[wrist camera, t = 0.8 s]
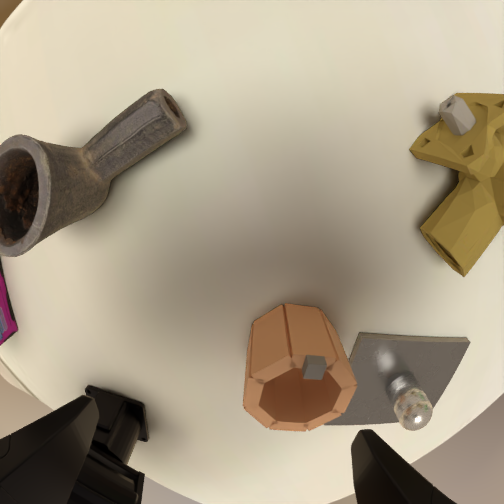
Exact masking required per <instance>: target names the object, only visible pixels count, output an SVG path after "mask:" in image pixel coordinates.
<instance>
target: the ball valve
mask: <svg viewBox="0 0 504 504" xmlns="http://www.w3.org/2000/svg"><path fill="white" fill-rule="evenodd" d="M438 113H439V114H440V115H441V119H440V121H439V122H438V123H436V124H435V125H434V126H432V127H431V128H429V129H428V130H427V131H425V132H424V133H422V134H421V135H420V136H419V137H418V138H417V140H416V141H415V142H414V144H413V145H412V146H411V148H410V149H409V150H410V151H411V152H412V153H413V154H414V156H415V157H416V158H418V159H422V160H425V161H429V162H432V163H436V164H439V165H442V166H445V167H449V168H452V169H455V170H458V171H460V172H459V174H458V178H459V183H458V185H457V187H456V188H455V189H454V190H453V191H452V192H451V193H450V194H449V195H448V196H447V197H446V198H445V200H444V201H443V202H442V203H441V204H440V206H439V207H438V208H437V209H436V210H435V211H434V213H433V214H432V215H431V216H430V217H429V218H428V219H427V221H426V222H425V223H424V224H423V225H422V226H421V227H420V230H421V232H422V234H423V236H424V238H425V239H426V240H427V241H428V242H429V244H430V245H431V246H432V247H433V248H434V250H435V251H436V252H437V253H438V254H439V255H440V256H441V257H442V258H443V259H444V260H445V261H446V263H447V264H448V265H449V266H450V267H451V268H452V269H453V270H455V271H456V272H458V273H459V274H460V275H462V276H463V277H465V275H466V274H467V273H468V272H469V270H470V269H471V268H472V267H473V265H474V264H475V263H476V261H477V260H478V259H479V258H480V256H481V255H482V253H483V252H484V251H485V249H486V248H487V247H488V245H489V244H490V242H491V241H492V240H493V238H494V237H495V236H496V234H497V233H498V231H499V230H500V228H501V226H503V225H504V94H488V93H456V94H455V95H453V96H452V97H450V98H449V99H447V100H445V101H444V102H442V103H441V104H440V107H439V112H438Z"/></svg>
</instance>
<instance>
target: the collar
mask: <svg viewBox="0 0 504 504" xmlns="http://www.w3.org/2000/svg"><path fill="white" fill-rule="evenodd" d="M356 388H357V381H356V379H355V376H354V374H353V371H352V369H351V366H350V364H349V361H348V359H347V356H346V354H345V351H344V349H343V346H342V344H341V341H340V339H339V337H338V334H337V332H336V330H335V329H334V327H333V326H332V324H331V323H330V322H329V320H328V319H327V317H326V316H325V314H324V313H323V312H322V310H321V309H320V310H319V308H317V307H309V306H301V305H294V304H287V303H285V306H283V305H282V304H281V305H279V306H278V307H276V308H275V309H273V310H272V311H270V312H268V313H267V314H265V315H263V316H262V317H260V318H259V319H257V320H255V321H254V324H252V327H251V333H250V338H249V343H248V349H247V359H246V372H245V384H244V396H243V406H244V409H245V410H246V411H247V412H248V413H249V414H250V415H252V416H253V417H254V418H255V419H256V420H257V421H259V422H260V423H261V424H262V425H263V426H265V427H266V428H268V427H270V429H273V430H287V431H306V430H307V429H308V430H309V431H310V430H312V429H314V428H316V427H318V426H321V425H323V424H325V423H327V422H329V421H331V420H333V419H335V418H337V417H339V416H341V415H342V414H341V413H344V412H345V410H346V408H347V406H348V404H349V402H350V400H351V398H352V396H353V394H354V392H355V390H356Z"/></svg>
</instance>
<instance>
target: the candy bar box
mask: <svg viewBox="0 0 504 504" xmlns="http://www.w3.org/2000/svg"><path fill="white" fill-rule="evenodd" d="M17 331H18V329H17V325H16V322H15V319H14V315H13V312H12V308H11V305H10V302H9V298H8V294H7V290H6V286H5V282H4V277H3V273H2V268H1V263H0V345H2V344H3V343H4V342H5V341H6V340H7V339H9V338H10V337H11V336H12V335H13V334H14V333H16V332H17Z"/></svg>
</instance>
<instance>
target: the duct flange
mask: <svg viewBox="0 0 504 504" xmlns="http://www.w3.org/2000/svg"><path fill="white" fill-rule="evenodd" d="M469 344H470V341H469V340H468V339H467V338H449V337H419V336H399V335H383V334H370V333H359V335H358V338H357V340H356V343H355V346H354V348H353V351H352V354H351V356H350V359H349V364H350V366H351V369H352V371H353V374H354V376H355V379H356V381H357V388H356V390H355V392H354V394H353V396H352V398H351V400H350V402H349V404H348V406H347V408H346V410H345V412H344V413H341V414H342V415H341V416H339V417H337V418H335V419H333V420H331V421H329V422H327V423H325V424H324V425H366V424H383V423H395V422H399V423H400V424H401V426H402V427H403V428H405V429H407V430H411V431H415V430H419V429H421V428H423V427H424V426H426V425H427V423H428V422H429V421H430V419H431V417H432V413H433V408H434V406H435V405H436V403H437V402H438V400H439V398H440V397H441V395H442V394H443V392H444V390H445V389H446V387H447V385H448V384H449V382H450V380H451V378H452V377H453V375H454V373H455V371H456V369H457V368H458V366H459V364H460V362H461V360H462V358H463V356H464V354H465V352H466V350H467V348H468V346H469Z"/></svg>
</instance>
